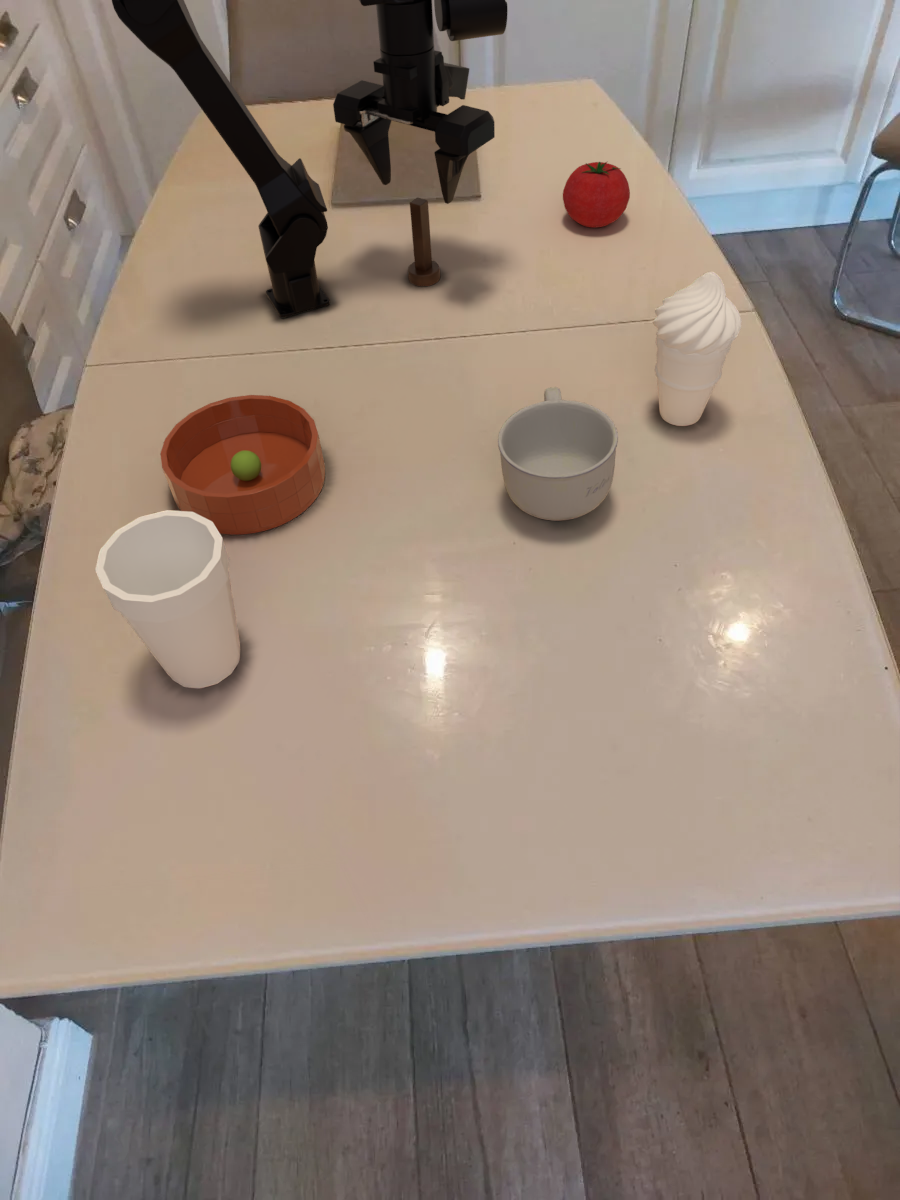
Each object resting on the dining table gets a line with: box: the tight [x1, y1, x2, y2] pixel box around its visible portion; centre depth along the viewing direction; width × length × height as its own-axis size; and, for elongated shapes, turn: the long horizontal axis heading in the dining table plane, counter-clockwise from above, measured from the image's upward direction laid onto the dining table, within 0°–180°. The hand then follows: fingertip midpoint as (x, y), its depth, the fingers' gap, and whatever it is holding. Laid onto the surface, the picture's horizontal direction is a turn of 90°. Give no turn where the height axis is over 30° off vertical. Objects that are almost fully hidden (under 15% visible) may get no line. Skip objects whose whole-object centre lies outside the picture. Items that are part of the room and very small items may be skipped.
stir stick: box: [407, 196, 441, 287], centre depth 112 cm, size 4×4×10 cm
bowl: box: [159, 394, 326, 536], centre depth 90 cm, size 15×15×5 cm
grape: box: [231, 451, 261, 481], centre depth 91 cm, size 3×3×3 cm
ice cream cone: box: [652, 271, 742, 427], centre depth 90 cm, size 8×8×16 cm
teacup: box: [497, 386, 619, 522], centre depth 87 cm, size 14×11×8 cm
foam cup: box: [94, 509, 241, 689], centre depth 73 cm, size 10×9×13 cm
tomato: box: [562, 161, 631, 228], centre depth 120 cm, size 9×9×8 cm
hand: (417, 192), depth 108 cm, fingers open, 9 cm apart
